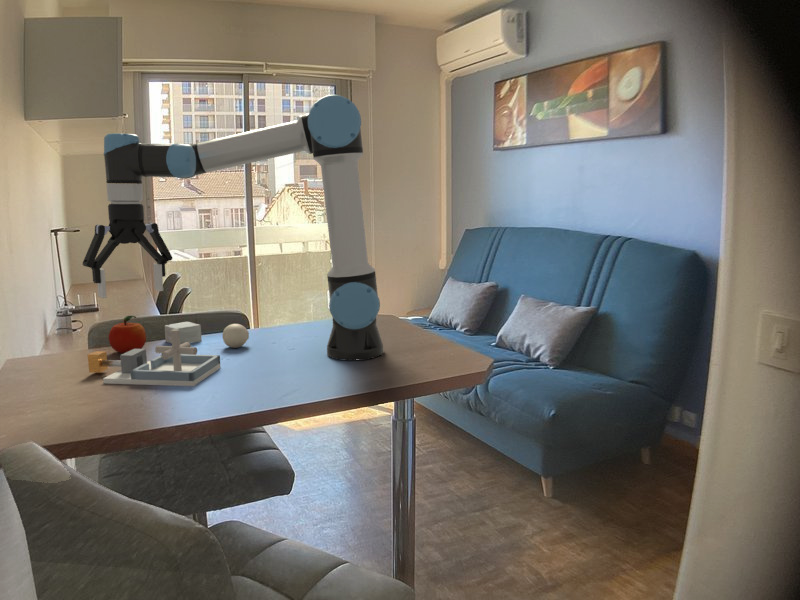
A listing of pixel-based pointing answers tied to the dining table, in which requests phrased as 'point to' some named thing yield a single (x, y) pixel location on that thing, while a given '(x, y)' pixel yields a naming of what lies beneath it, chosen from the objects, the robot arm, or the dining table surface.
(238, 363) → the dining table surface
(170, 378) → the dock
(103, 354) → the lock pin
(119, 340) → the fruit
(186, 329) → the small box
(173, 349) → the pipe connector
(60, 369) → the dining table surface
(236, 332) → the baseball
